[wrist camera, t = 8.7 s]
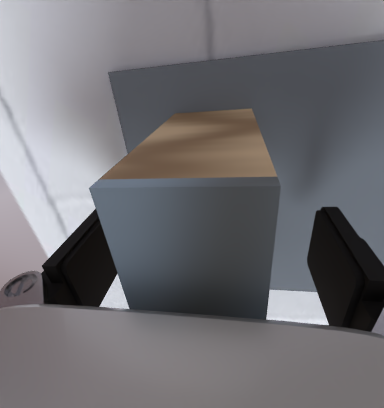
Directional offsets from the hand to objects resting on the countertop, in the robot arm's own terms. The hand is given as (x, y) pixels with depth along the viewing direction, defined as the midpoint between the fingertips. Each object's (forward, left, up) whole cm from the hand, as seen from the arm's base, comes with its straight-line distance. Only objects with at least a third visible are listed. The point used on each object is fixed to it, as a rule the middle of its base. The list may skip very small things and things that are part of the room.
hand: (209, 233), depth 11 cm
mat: (-4, 0, -3) cm, 5 cm away
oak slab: (0, 0, -3) cm, 3 cm away
